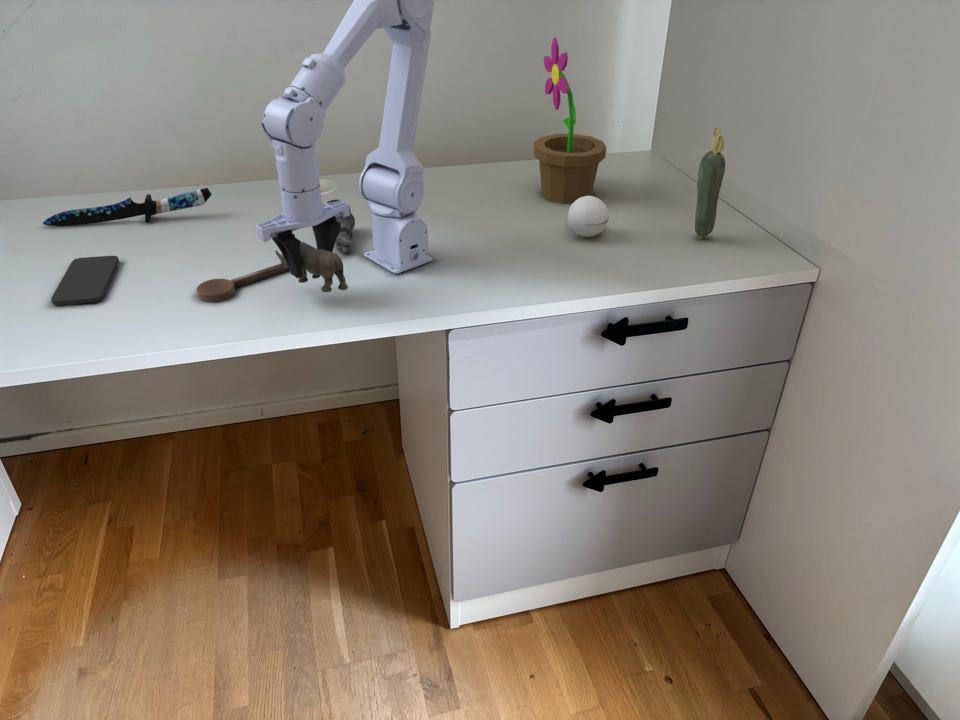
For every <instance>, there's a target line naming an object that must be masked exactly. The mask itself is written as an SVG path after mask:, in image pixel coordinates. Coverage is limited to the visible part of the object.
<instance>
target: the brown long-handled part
mask: <svg viewBox="0 0 960 720" xmlns="http://www.w3.org/2000/svg"><path fill="white" fill-rule="evenodd" d="M281 264H282V263H278V264H275V265H271V266H269V267H266V268H263V269H259V270H257V271H254V272H250V273H247V274H244V275H241V276H238V277H235V278H232V279H227V278H212V279H208V280H205V281H203V282H201V283H200V284H198V285H197V287H196V293H197V297H198V299H199V300H201V301H203V302H207V303H216V302H217V303H218V302H223V301H226V300H228V299H230V298H231V297H233V296H234V295H235V294H236V293H235V292H236V288H240V287H242V286H245V285H248V284H250V283H255V282H257V281H260V280H264V279H265V278H266V279H267V278H270V277H271V276H275V275H278V274H280V273H284V272H286V271H290V269H289V267H283V266H282V265H281Z"/></svg>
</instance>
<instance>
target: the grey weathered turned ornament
mask: <svg viewBox="0 0 960 720" xmlns="http://www.w3.org/2000/svg"><path fill="white" fill-rule="evenodd" d="M340 200H342V199H338V198H336V199H331V200H328V201H326V203H331V202H336V201H340ZM342 201H344V202H346V201H345V200H342ZM349 211H350V216H347V217H343V216H340V217H337V218H336V221H338V222H339V223H341V231H340V233H339V235H338V237H337V239H336V242H335V245H334V247H335V248H336V250H337V251H338V252H339V253H342V254H345V253H349V252H350V251H351V250H352V249H353V242H352V237H353V234H352V231H353V230H354V228H355V227H356V219H355V217H354V214H353V213H352V212H351V211H352V210H351V206H350V205H349Z"/></svg>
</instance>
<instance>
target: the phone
mask: <svg viewBox="0 0 960 720" xmlns="http://www.w3.org/2000/svg"><path fill="white" fill-rule="evenodd" d="M119 263H120V260H119V256H117V255H102V256H87V257H86V256H85V257H77V258H74V259H73V260H72V261H71V262H70V264H69V266H67V267H68V268H67V269H66V271H65V273H64V275H63V276H62V278H61V280H60V281H59V284H58V286H57V287H56V289H55V291H54V293H53V295H52V296H51V298H50V299H51V300H50V301H51V303H52V305H54V306H64V305H66V306H67V305H79V304H89V303H90V304H92V303H98V302H100V301H101V300H103V298H104V297H105V294H106V292H107V290H108V287H109V285H110V283H111V281H112V278H113V276H114V274H115V273H116V270H117V267H118V265H119Z"/></svg>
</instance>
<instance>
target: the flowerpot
mask: <svg viewBox="0 0 960 720" xmlns="http://www.w3.org/2000/svg"><path fill="white" fill-rule="evenodd" d="M550 50H551V51H550V53H551V55H543V66H544V69H545V70H546V72H547V73H551V77H548V78H547V79H546V81H545V84H544V94H545V95H546V96H548V95H551V94H552V103H553V106H554V109H555V111H558V110H559V109H560V105H561V94H566V95H567V102H568V103H567V104H568V112H569V117H566V118H563V120H562V121H563V124H564V125H565V126H566V128H567V130H568V133H553V134H549V135H544V136H541V137H539V138H538V139H536V140H535V141H534V142H533V154H534V155H533V156H534V158H535V159H536V160H538V162H539V163H538V164H539V175H540V188H541V194H542V195H541V196H542V197H543V198H545V199H546V200H548V201H550V202H555V203H560V204H572V203H573V202H574V201H576V200H577V199H578V198H581V197H584V196H593V191H594V186H595V182H596V178H597V174H598V169H599V164H600V163H601V162H602V161H604V159H605V158H606V155H607V146H606V144H605V142H604V141H603V140H601V139H598V138H595V137H593V136H591V135H586V134H585V135H584V134H578V133H574V125H576V123H577V121H576V118H577V116H576V114H577V109H576V106H575V105H574V98H573V97H574V95H573V92H572V89H571V87H570V83H569V82H568V79H567V76H565V74H564V73H563V71H565V69H566V68H567V66H568V61H569V60H568V59H569V56H568V55H569V54H568V52H566V51H565V52H562V53H560V46H559V42H558V39H557V38H556V37H553V38H552V41H551V45H550Z"/></svg>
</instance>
